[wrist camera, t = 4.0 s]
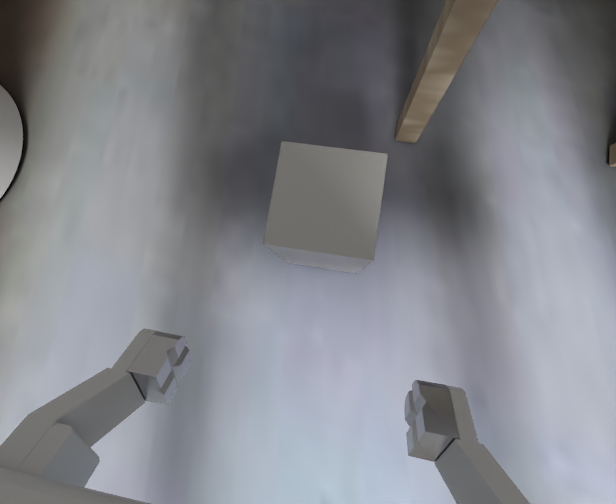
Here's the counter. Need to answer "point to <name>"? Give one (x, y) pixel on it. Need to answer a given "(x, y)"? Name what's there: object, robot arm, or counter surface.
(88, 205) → the counter surface
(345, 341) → the counter surface
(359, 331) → the counter surface
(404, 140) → the frame
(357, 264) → the stone
